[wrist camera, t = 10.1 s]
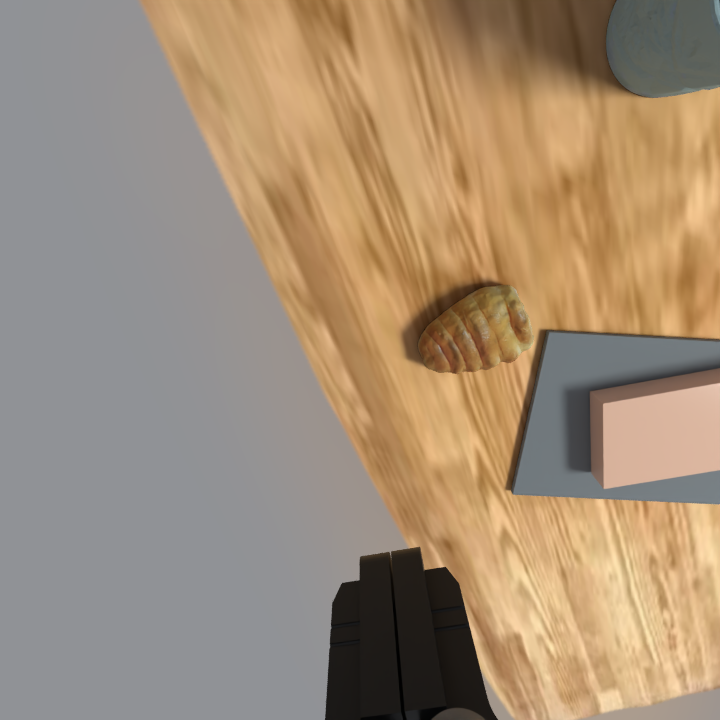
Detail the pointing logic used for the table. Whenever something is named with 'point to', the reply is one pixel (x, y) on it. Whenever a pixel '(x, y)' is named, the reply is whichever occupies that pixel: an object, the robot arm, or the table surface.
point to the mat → (572, 412)
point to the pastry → (477, 332)
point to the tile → (656, 429)
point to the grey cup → (665, 46)
